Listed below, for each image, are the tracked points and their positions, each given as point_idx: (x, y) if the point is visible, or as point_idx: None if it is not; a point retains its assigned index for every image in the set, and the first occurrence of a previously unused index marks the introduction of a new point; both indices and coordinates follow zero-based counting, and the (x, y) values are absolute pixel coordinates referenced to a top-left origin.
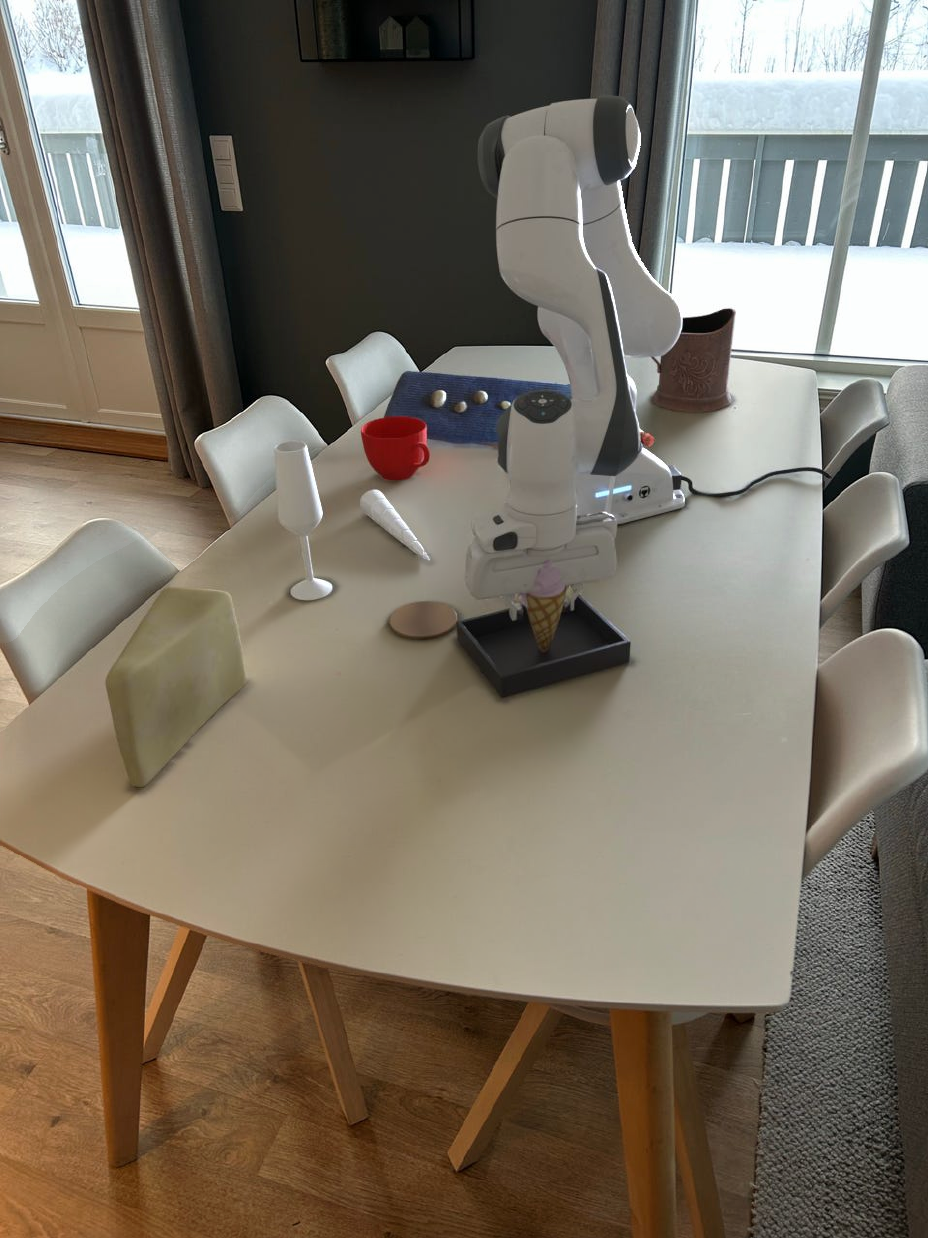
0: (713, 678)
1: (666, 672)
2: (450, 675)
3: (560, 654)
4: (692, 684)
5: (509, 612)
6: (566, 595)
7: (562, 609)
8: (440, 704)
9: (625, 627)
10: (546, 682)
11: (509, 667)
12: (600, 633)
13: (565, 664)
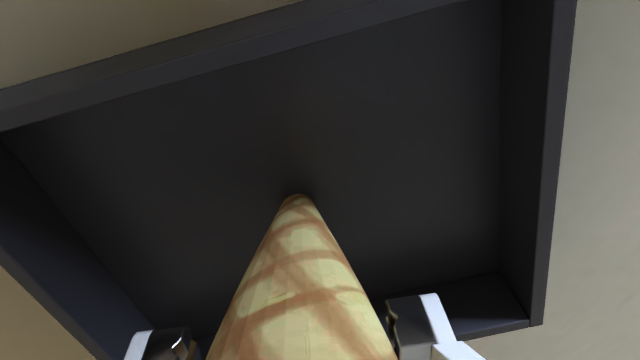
0: (633, 329)
1: (561, 307)
2: (4, 270)
3: (341, 236)
4: (580, 340)
5: (131, 344)
6: (433, 354)
7: (387, 324)
8: (14, 352)
9: (613, 115)
10: None
11: (181, 271)
12: (505, 175)
13: None
